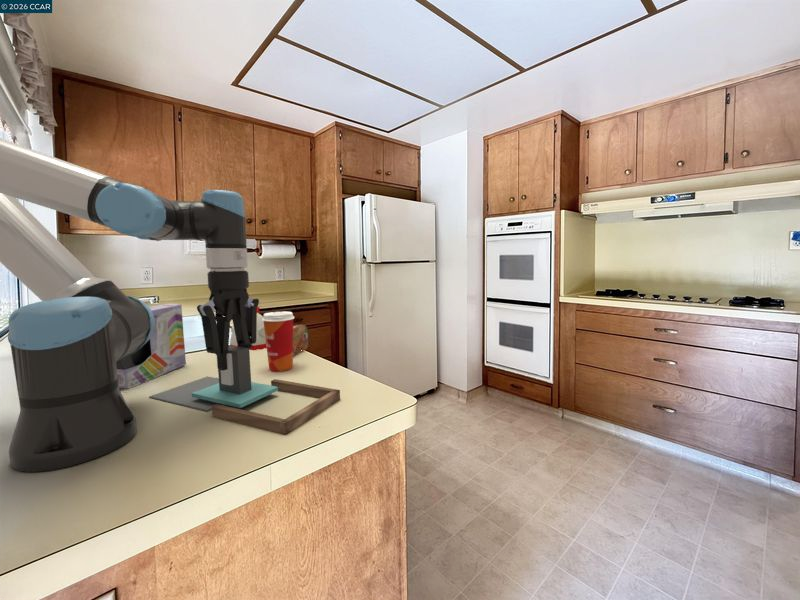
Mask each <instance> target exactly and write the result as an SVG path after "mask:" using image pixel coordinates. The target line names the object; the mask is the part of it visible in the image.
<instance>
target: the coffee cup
mask: <svg viewBox="0 0 800 600" xmlns="http://www.w3.org/2000/svg"><path fill="white" fill-rule="evenodd" d="M293 314H294V313H293V312H292V311H274V312H273V311H272V312H265V313H263V315H262V316H263V319H262V320H263V322H264V330H265V338H266V347H267V348H266V353H267V363H268V367H269V371H270V370H271V371H270V372H280V371H281V372H286V370H287V371H290V370H292V369H293V366H294V364H293V363H294V357H293V326H294V319H295V316H294V315H293ZM291 368H292V369H291ZM281 372H280V373H281Z"/></svg>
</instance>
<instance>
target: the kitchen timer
mask: <svg viewBox="0 0 800 600" xmlns="http://www.w3.org/2000/svg"><path fill="white" fill-rule="evenodd" d="M260 309H261V307H260V306H258V307H257V331H256V343H255V344H251V345H253V347H252V348H251V349H249V350H253V351H258V350H257V349H260V350H263V349H264V348H265V349H267V347H266V338H265V330H264V322H263V320H262V319H263V315H262V314H260V313H259V312H260ZM230 332H231V337H230V338H229V346H236V347H238V345H237V340H236V335H235V330H234V325H233V326H231V328H230ZM250 338H251V337H250ZM265 349H264V350H265Z"/></svg>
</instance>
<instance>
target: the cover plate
mask: <svg viewBox="0 0 800 600" xmlns="http://www.w3.org/2000/svg"><path fill="white" fill-rule="evenodd" d="M228 353H230V354H232V365H233V381H234V385H231V386H230V385H225V384H221V370H218V369H217V370H218V371H217V373H218V378H219V383H218V384H215V385H212V386H210V387H207V388H204V389H201V390H199V391H196V392H193V393H191V394H192V397H195V398H199V399H203V400H208V401H212V402H216V403H221V404H223V405H224V406H228V407H232V408H237V409H241V408H244V407H246V406H248V405H251V404H252V403H254V402H257V401H259V400H261V399H263V398H265V397H268V396H270V395H272V394H274V393H276V392H278V387H276V386H271V384H264V383H260V382H259V383H258V382H253V381H252V372H251V371H252V370H251V358H250V357H251V356H250V351H249V348H244V347H236V346H230V345H229V346H228Z"/></svg>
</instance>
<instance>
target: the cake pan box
mask: <svg viewBox="0 0 800 600" xmlns="http://www.w3.org/2000/svg"><path fill="white" fill-rule="evenodd" d="M148 307H149V308H150V309H151V311H152V313H153V316H154V320H155V326H154V331H153V334H152V336H151V338H150V339H149V340H148V341H147V343H146V344H144V345H143V346H142V347H141V348H140V349H138V350H137V351H136V352H135V353H133V354H131V355H128V356H125V357H124V358H122V359H120V360H118V361H117V362H116V366H117V375H118V385H119V390H121V389H124V390H130V389H132V388H134V386H135V387H136V386H139V385H141V384H144V383H146V381H147V382H149V381H151V380H153V378H154V379H156V378H158V377H160V376H163V375H164V374H167V373H169V372H172V371H175V370H176V369H179V368H181V367H183V366H186V364H187V360H186V349H185V348H186V347H185V334H184V333H185V332H184V323H183V322H184V321H183V320H184V319H183V309H182V308H183V307H182V304H180V303H169V302H168V303H165V304H160V305H159V304H158V305H153V306H148Z"/></svg>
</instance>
